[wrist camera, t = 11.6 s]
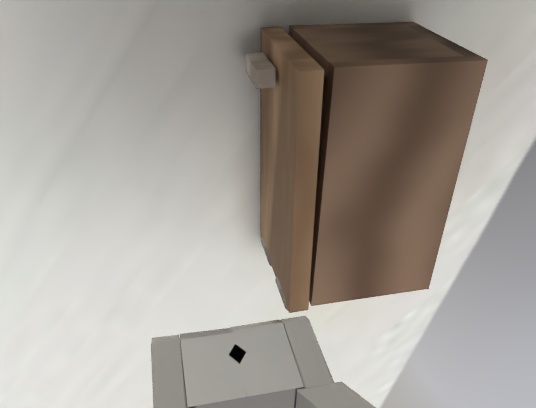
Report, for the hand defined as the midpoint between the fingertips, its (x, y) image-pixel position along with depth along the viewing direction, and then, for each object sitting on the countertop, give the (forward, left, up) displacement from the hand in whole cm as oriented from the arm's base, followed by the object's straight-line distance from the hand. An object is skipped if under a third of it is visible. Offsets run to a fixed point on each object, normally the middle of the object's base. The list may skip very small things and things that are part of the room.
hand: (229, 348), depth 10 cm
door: (-6, +7, -23) cm, 25 cm away
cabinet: (-11, +7, -23) cm, 27 cm away
